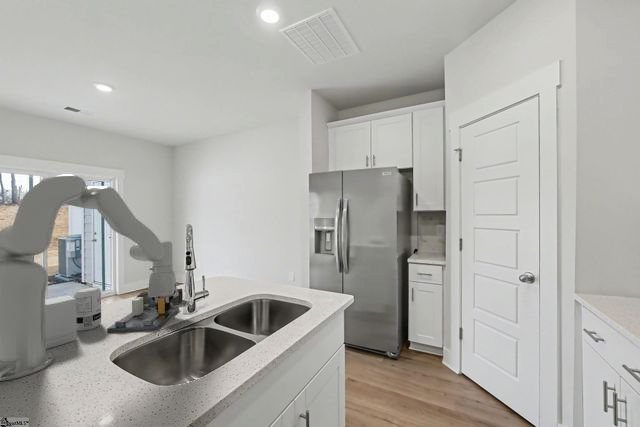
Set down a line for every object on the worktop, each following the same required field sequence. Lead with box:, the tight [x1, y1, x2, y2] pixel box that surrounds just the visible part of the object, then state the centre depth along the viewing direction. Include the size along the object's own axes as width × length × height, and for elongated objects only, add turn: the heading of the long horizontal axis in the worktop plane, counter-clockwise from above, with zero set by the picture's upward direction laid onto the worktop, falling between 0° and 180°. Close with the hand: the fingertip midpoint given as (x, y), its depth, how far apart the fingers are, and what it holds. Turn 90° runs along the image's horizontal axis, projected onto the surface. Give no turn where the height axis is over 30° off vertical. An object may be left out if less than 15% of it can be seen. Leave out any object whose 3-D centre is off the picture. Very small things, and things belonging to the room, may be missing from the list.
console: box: [106, 303, 180, 333], centre depth 115 cm, size 21×18×4 cm
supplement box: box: [45, 294, 78, 350], centre depth 96 cm, size 9×9×15 cm
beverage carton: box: [135, 288, 184, 308], centre depth 135 cm, size 8×19×7 cm, turn 107°
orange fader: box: [158, 296, 166, 314], centre depth 119 cm, size 4×2×7 cm, turn 7°
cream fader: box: [131, 296, 143, 316], centre depth 117 cm, size 4×2×7 cm, turn 7°
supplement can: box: [73, 286, 102, 332], centre depth 108 cm, size 8×8×15 cm
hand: (163, 310), depth 119 cm, fingers closed on orange fader, 2 cm apart
